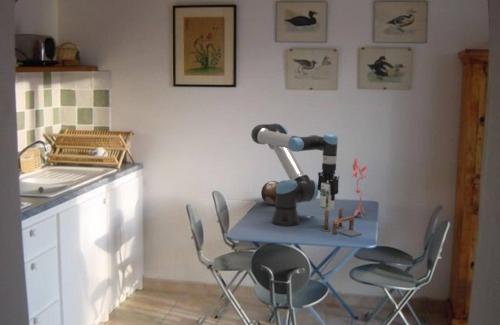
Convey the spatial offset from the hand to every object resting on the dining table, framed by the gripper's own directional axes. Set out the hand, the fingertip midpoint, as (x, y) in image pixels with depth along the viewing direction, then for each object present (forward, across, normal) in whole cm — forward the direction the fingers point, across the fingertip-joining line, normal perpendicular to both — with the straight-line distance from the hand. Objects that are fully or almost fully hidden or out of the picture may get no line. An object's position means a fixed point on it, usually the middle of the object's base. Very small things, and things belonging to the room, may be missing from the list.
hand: (326, 204), depth 325 cm
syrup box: (+3, 0, 0) cm, 3 cm away
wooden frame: (+12, +9, 0) cm, 15 cm away
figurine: (+13, -10, +34) cm, 38 cm away
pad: (+12, +18, 0) cm, 22 cm away
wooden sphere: (+13, -57, +12) cm, 60 cm away
